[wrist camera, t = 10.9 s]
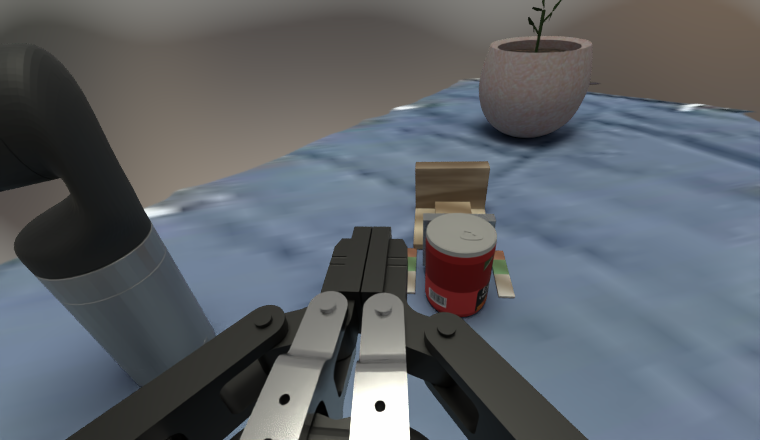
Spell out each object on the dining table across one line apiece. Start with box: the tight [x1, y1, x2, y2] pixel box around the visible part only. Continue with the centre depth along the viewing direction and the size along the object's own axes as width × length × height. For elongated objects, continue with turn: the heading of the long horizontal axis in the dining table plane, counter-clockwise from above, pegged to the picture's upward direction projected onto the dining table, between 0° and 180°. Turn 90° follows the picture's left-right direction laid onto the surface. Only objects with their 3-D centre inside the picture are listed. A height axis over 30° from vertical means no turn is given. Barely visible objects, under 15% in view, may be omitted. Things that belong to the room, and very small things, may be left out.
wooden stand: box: [407, 161, 515, 298], centre depth 51 cm, size 22×15×9 cm
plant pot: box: [479, 0, 592, 138], centre depth 78 cm, size 24×24×30 cm
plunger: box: [423, 213, 496, 266], centre depth 50 cm, size 12×9×8 cm
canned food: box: [425, 213, 497, 317], centre depth 42 cm, size 8×8×11 cm
